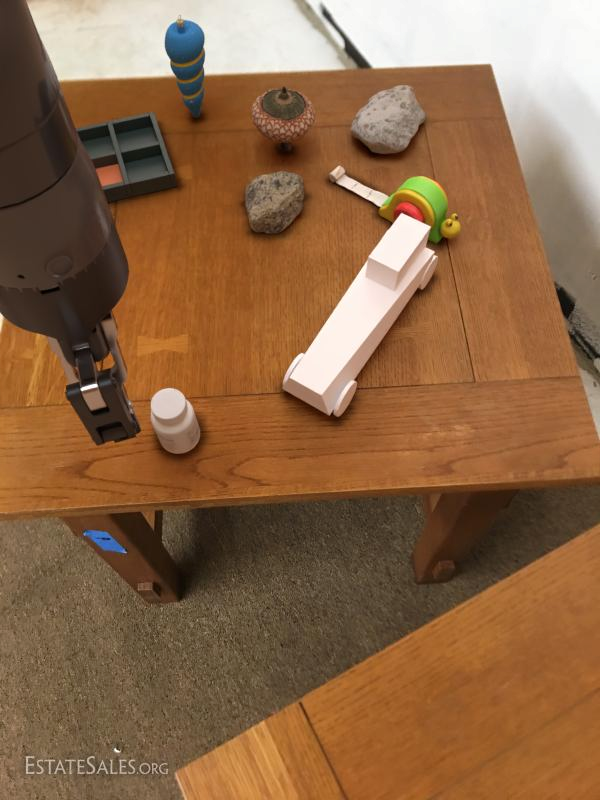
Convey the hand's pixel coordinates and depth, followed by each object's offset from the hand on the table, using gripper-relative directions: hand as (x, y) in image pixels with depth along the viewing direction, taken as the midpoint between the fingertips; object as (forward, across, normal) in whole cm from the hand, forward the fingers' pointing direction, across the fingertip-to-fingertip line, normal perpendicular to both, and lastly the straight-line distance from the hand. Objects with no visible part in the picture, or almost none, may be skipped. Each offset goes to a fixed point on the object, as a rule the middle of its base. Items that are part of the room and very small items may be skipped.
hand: (113, 382), depth 47 cm
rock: (+23, -34, +22) cm, 46 cm away
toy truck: (+23, -12, +26) cm, 37 cm away
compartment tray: (+23, -48, +5) cm, 53 cm away
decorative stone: (+23, -42, +42) cm, 64 cm away
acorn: (+23, -44, +27) cm, 56 cm away
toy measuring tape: (+23, -28, +37) cm, 52 cm away
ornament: (+23, -54, +17) cm, 61 cm away
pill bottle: (+23, -6, +3) cm, 24 cm away
